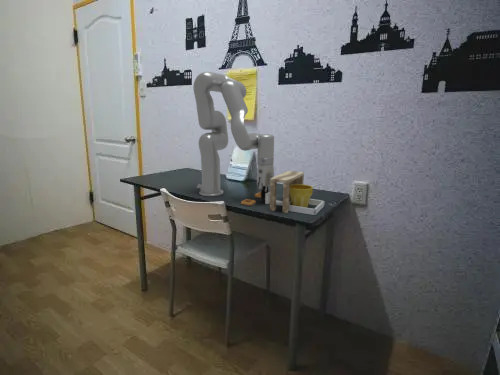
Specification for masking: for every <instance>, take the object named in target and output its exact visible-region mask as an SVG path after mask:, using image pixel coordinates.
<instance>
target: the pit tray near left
mask: <svg viewBox="0 0 500 375" xmlns="http://www.w3.org/2000/svg"><path fill="white" fill-rule="evenodd" d="M254 198H256V199H261V191H260V192H257V193H255V194H254Z"/></svg>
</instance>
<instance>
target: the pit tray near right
mask: <svg viewBox="0 0 500 375" xmlns="http://www.w3.org/2000/svg"><path fill="white" fill-rule="evenodd" d="M256 201H257V200H256V199H248V198H246V199H244V200H241V202H240V205H241V206H247V207H252V206H254V205H255V204H256V203H257V202H256Z"/></svg>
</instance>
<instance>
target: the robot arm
mask: <svg viewBox="0 0 500 375" xmlns="http://www.w3.org/2000/svg"><path fill="white" fill-rule="evenodd" d="M192 89H193V95H194V99H195V105H196V113H197V119H198V126H199V127H200V128H201V129H202V130H205V131H211V132H205V133H203V134H201V136H200V137H199V139H198V147H199V153H200V164H201V167H200V168H201V183H197V185H196V188H197V189H200V191H199V192H198V194H199V195H200V196H202V197H203V196H204V197H218V196H221V195H224V190H223V189H221V161H220V160H221V159H220V155H219V152H218V151H223V150H224V149H226V148H227V147H228V145H229V133H228V128H227V119H226V117H225V115H224V114H223V112H221V111H219V110H215V106H214V105H215V104H214V100H213V97H212V95H211V93H210V92H217V93H221V95H222V97H223V101H224V102H225V105H226V107H227V110H228V112H229V115H230V131H231V134H232V137H233V139H234V142H235V144H236V146H237V147H238V148H239V149H240V150H241V151H245V152H247V151H250V150H256V149H257V152H256V153H257V158H256V159H257V160H256V162H257V172H256V185H257V186H258V190H260V193H261V198H260V200H265V193H267V192H269V191H270V179H271V178H273V177H275V169H274V168H275V166H274V162H275V161H274V160H275V159H274V158H275V157H274V156H275V154H274V152H275V151H274V150H275V135H273V134H269V133H267V134H266V133H265V134H264V133H256V132H251V133H249V132H248V130H247V128H246V125H245V117H246V115H247V114H248V110H249V109H248V106H247V105H246V102H245V99H244V98H245V97H246V95H247V88H246V86H245V84H244V83H243V82H241V81H238V80H236V79H234V78H232V77H229V76H227V75H225V74H222V73H216V72H213V71H212V72H211V71H203V72H201V73H199V74H198V75H196V77H195V79H194V82H193V87H192Z"/></svg>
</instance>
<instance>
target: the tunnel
mask: <svg viewBox="0 0 500 375" xmlns="http://www.w3.org/2000/svg"><path fill="white" fill-rule="evenodd" d="M304 176H305V172H303V171H295V170H294V171H293V170H286V171H284V172H282V173H280V174H278V175H274V177H273V178H271V179H270V186H269V191H270V204H269V211H271V212H272V211H274V212H275V211H276V210H277V205H276V200H277V185H278V184H277V183H282V184H283V185H282V187H283V188H282V201H283V206H282V213H284V214H287V213H289V212H290V211H289V202H290V201H291V195H290V194H289V187H290V185H295V184H303V185H304V179H305V178H304Z"/></svg>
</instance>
